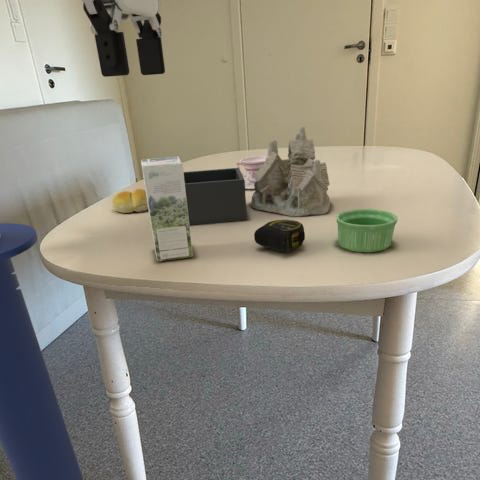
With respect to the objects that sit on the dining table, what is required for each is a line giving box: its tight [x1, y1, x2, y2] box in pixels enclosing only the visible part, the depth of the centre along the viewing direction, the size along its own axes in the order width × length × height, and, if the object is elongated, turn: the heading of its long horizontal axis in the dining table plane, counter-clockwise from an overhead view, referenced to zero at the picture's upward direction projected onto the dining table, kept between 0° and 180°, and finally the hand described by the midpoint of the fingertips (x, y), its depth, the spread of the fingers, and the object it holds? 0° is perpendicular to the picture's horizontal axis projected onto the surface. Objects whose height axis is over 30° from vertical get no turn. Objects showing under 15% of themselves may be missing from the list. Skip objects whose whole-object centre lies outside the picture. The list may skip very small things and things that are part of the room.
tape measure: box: [253, 219, 306, 253], centre depth 70 cm, size 7×7×4 cm
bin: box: [183, 167, 248, 226], centre depth 89 cm, size 13×13×8 cm
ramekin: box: [335, 208, 398, 253], centre depth 69 cm, size 9×9×4 cm
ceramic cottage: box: [250, 126, 331, 217], centre depth 89 cm, size 16×16×15 cm
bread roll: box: [111, 188, 149, 214], centre depth 98 cm, size 8×9×4 cm
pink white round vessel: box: [236, 155, 268, 190], centre depth 111 cm, size 12×12×6 cm
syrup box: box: [140, 155, 194, 262], centre depth 68 cm, size 6×6×14 cm
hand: (136, 75), depth 54 cm, fingers open, 9 cm apart
